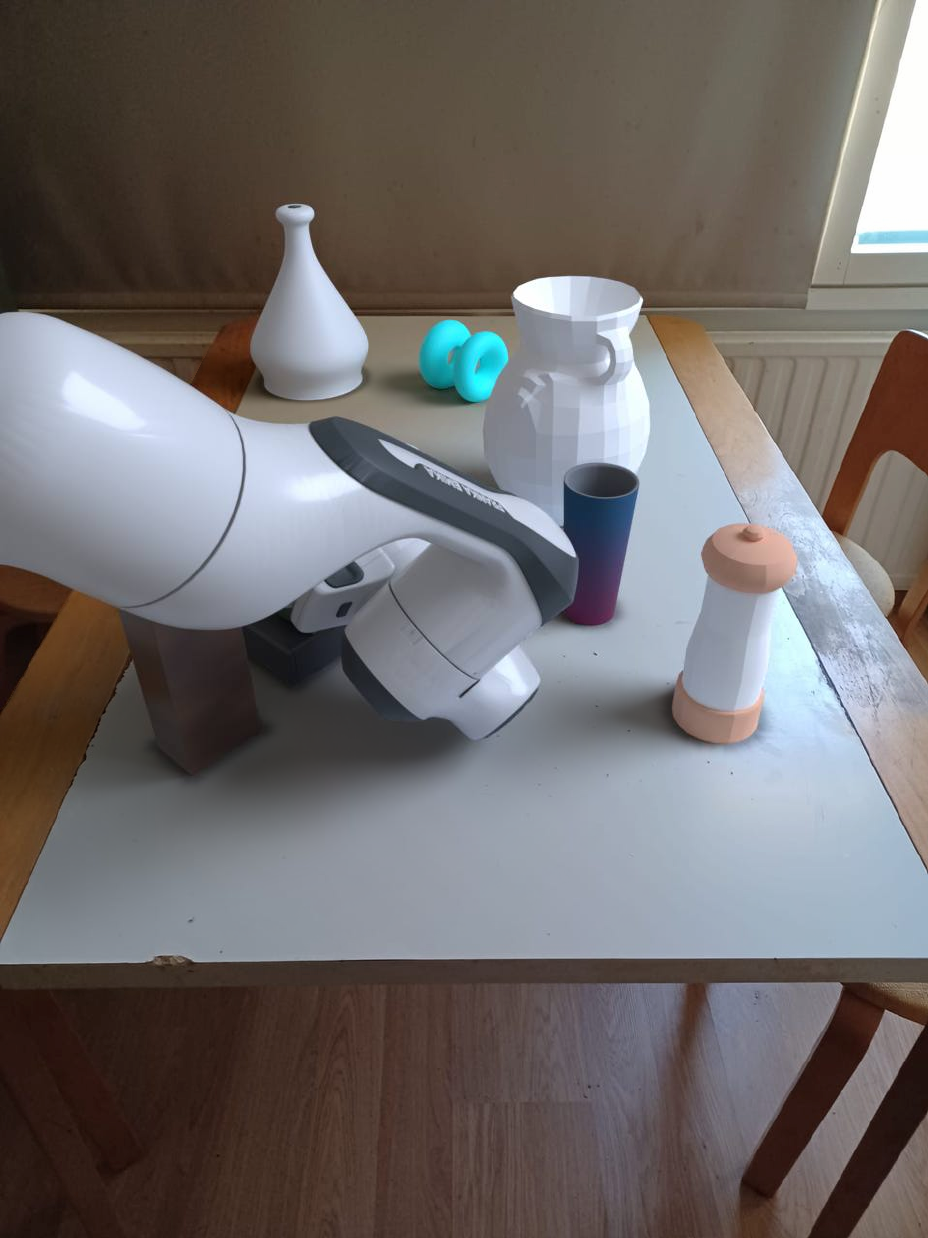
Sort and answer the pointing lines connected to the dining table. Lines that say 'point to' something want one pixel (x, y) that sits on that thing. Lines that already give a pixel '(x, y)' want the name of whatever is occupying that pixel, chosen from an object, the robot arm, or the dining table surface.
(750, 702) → the pepper shaker
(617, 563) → the cup
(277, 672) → the pan
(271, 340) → the vase
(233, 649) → the shelf post
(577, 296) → the pitcher
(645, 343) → the dining table surface
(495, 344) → the donuts
